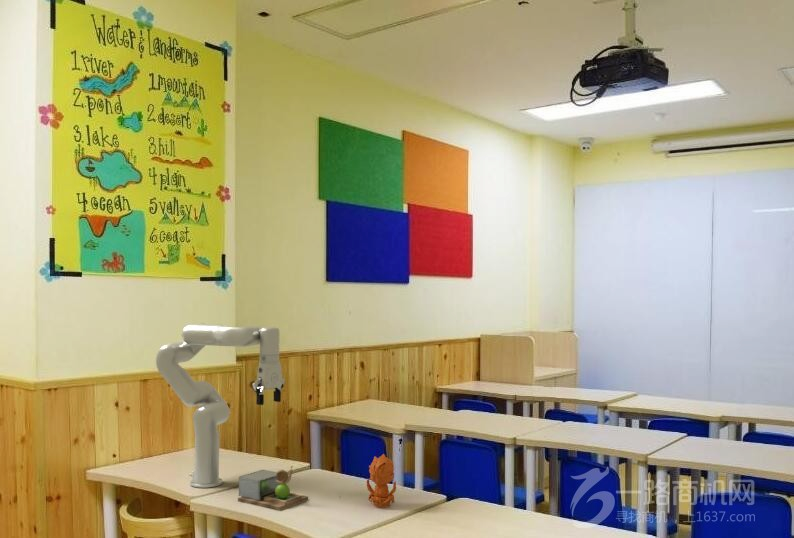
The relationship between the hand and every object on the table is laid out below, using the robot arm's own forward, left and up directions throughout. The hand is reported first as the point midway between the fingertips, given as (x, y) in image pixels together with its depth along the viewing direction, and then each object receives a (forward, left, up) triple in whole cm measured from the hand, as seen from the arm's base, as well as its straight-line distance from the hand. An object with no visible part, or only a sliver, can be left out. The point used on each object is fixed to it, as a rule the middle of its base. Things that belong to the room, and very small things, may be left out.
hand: (268, 403), depth 285 cm
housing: (+6, -10, -32) cm, 34 cm away
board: (+12, -10, -33) cm, 37 cm away
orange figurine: (+48, +8, -34) cm, 59 cm away
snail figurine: (+17, -10, -32) cm, 38 cm away
